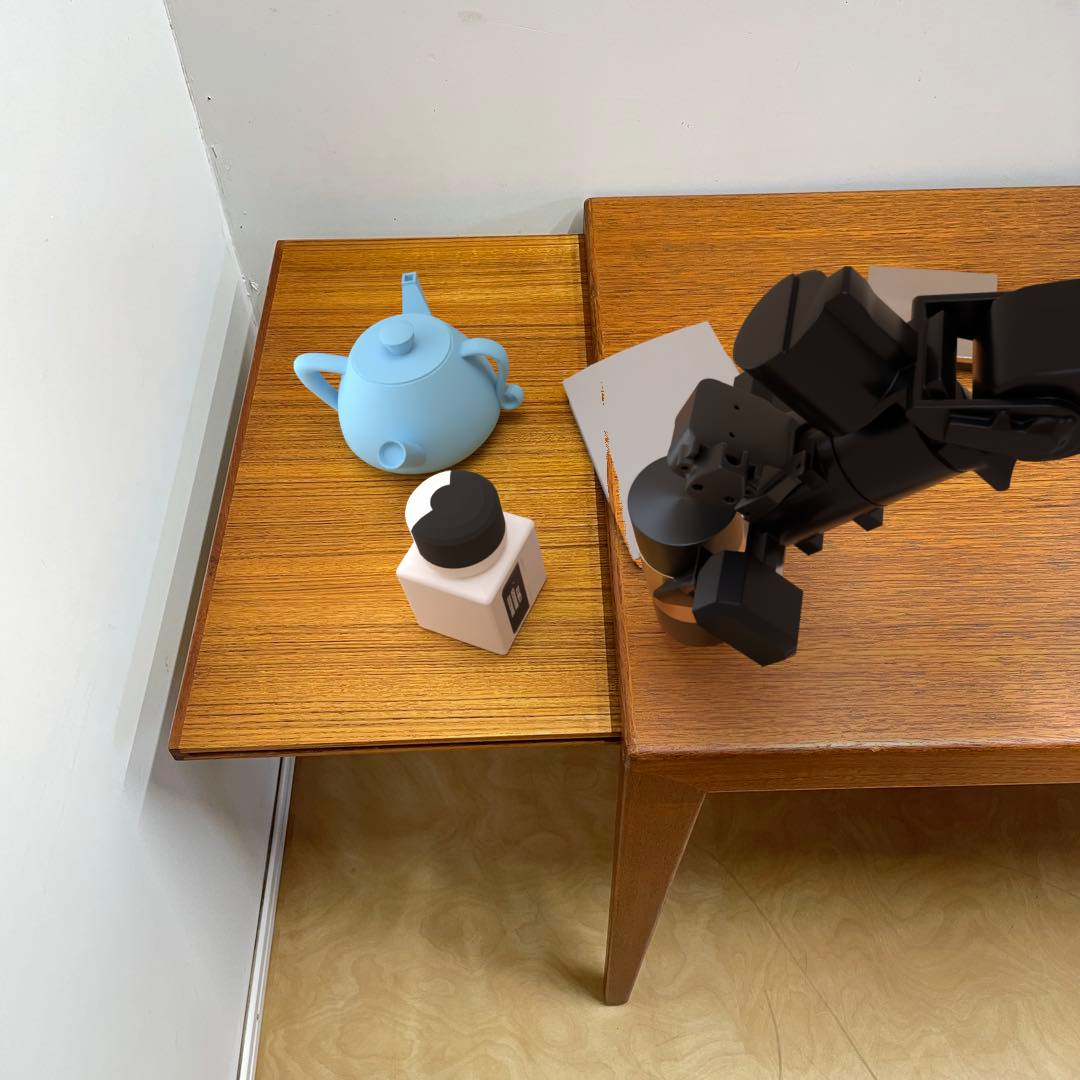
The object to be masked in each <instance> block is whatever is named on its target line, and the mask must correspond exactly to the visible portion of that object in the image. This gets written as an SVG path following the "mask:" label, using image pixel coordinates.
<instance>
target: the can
mask: <svg viewBox="0 0 1080 1080" xmlns="http://www.w3.org/2000/svg"><path fill="white" fill-rule="evenodd" d="M685 486H686V478H683V477H681V476H679V475H677V474H675V473H674V472H673V471H672V470H671V469H670V467H669V466H668V463H667V456H664V457H662V458H659V459H657V460H655V461H654V462H652V463H650V464H649V465H648V466H646V467H645V468H644V469H643V470H642V471H641V472H640V473H639V474H638V475H637V477H636V478H635V480H634V481H633V483H632V485H631V487H630V490H629V493H628V499H627V506H628V512H629V516H630V520H631V523H632V527H633V531H634V534H635V538H636V545H637V548H638V552H639V556H640V559H641V563H642V567H643V570H642V571H643V574H644V578H645V581H646V585H647V588H648V592H649V595H650V598H651V600H652V604H653V608H654V611H655V616H656V619H657V622H658V624H659V626H660V627H661V629H662V630H663V631H664V632H665V634H666V635H667V636H669V637H670V639H672V640H673V641H675V642H677V643H679V644H682V645H684V646H688V647H693V648H711V647H715V646H719V645H721V644H724V643H725V642H723V641H722V640H720V639H719V638H717V637H716V636H714V635H713V634H711V633H709V632H708V631H706V630H705V629H703V628H702V627H700V626H699V625H697V622H696V620H695V618H694V616H693V613H692V608H691V607H684V606H677V605H671V604H665V603H662V602H661V601H659V600H658V599H656V598H655V597H653V593H654V590H655V589H657V588H658V587H660V586H661V585H662V584H664V583H665V582H667V581H669V580H671V579H672V578H674V577H676V576H678V575H680V574H682V573H684V572H686V571H687V570H689V569H691V568H693V567H695V564H696V559H697V553H698V548H699V546H700V545H702V546H703V547H705V548H706V549H707V550H709V551H710V552H712V553H713V554H716V553H719V552H721V551H723V550H731V551H740V552H745V537H744V527H743V521H742V516H741V514H740V513H739V512H737V511H736V510H735V507H734V508H731V509H721V508H718V507H716V506H713V505H711V504H708V503H706V502H703V501H700V500H698V499H695V498H693V497H691V496H689V495H688V494H687V492H686V490H685Z"/></svg>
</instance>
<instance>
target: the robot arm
mask: <svg viewBox="0 0 1080 1080" xmlns="http://www.w3.org/2000/svg"><path fill="white" fill-rule="evenodd" d="M957 338H960V339H965V340H970V341H973V352H972V371H971V373H972V374H971V383H972V384H971V385H972V386H971V391H970V390H969V389H968V388H966V387H965V385H963V384H962V383H961V381H959V380H958V379H957V377H958V370H957ZM732 360H733V362H734V364H735V366H736V367H738V368H740V370H742V372H741V373H740V374H739V375H738V376H736V377H735V378H734V384H733V386H731V385H728V384H726V383H723V382H721V381H719V380H716V379H712V378H706V379H703V380H701V381H700V382H699V383H698V385H697V386H696V388H695V389H694V391H693V392H692V394H691V395H690V397H689V398H688V400H687V401H686V403H685V404H684V406H683V407H682V409H681V410H680V411H679V413H678V414H677V416H676V419H675V423H674V424H675V427H674V431H673V436H672V440H671V445H670V448H669V450H668V454H667V463H668V466H669V467H670V469H671V470H672V471H673V472H674V473H675V474H677V475H679V476H681V477H683V478H686V486H685V490H686V492H687V494H688V495H689V496H691V497H693V498H695V499H698V500H700V501H703V502H706V503H708V504H711V505H713V506H716V507H718V508H721V509H731V508H734V507H735V510H736V511H737V512H739V513H740V514H741V516H742V518H743V519H744V520H745V521H746V522H748V523H749V527H748V533H747V540H746V546H745V552H740V551H731V550H723V551H721V552H719V553H716V554H713V553H712V552H710V551H709V550H707V549H706V548H705V547H703V546H702V545H700V546H699V548H698V553H697V559H696V564H695V567H693V568H691V569H689V570H687V571H686V572H684V573H682V574H680V575H678V576H676V577H674V578H672V579H671V580H669V581H667V582H665V583H664V584H662V585H661V586H660V587H658V588H657V589H655V590H654V593H653V597H655V598H656V599H658V600H659V601H661V602H662V603H665V604H671V605H677V606H684V607H691V608H692V613H693V616H694V618H695V620H696V622H697V625H699V626H700V627H702V628H703V629H705V630H706V631H708V632H709V633H711V634H713V635H714V636H716V637H717V638H719V639H720V640H722V641H723V642H724V643H725V644H726V645H728V646H730V647H731V648H733V649H734V650H736V651H737V652H738V653H740V654H742V655H744V656H745V657H746V658H748V659H750V660H751V661H753V662H754V663H756V664H757V665H759V666H760V667H762V668H764V667H768V666H770V665H774V664H778V663H779V662H783V661H786V660H788V659H791V658H792V657H794V656H796V655H797V650H798V644H799V634H800V625H801V617H802V608H803V599H804V590H803V589H801V588H800V587H799V586H797V585H795V584H794V583H793V582H791V581H790V580H788V579H787V578H786V577H784V571H785V563H786V555H787V554H786V553H787V547H790V546H792V545H793V546H794V547H795V548H797V549H798V550H800V551H801V552H802V553H803V554H805V555H806V556H808V557H810V556H813V555H814V554H816V553H819V552H821V551H823V546H824V536H825V533H827V532H830V531H831V530H834V529H836V528H839V527H842V526H843V525H845V524H849V523H851V522H852V521H853V522H854V523H855V524H856V525H858V526H859V527H860V528H862V529H863V530H864V531H865V532H866V533H867V532H870V531H872V530H875V529H878V528H880V527H882V526H884V512H885V511H884V509H885V507H888V506H890V505H892V504H894V503H897V502H900V501H902V500H904V499H907V498H909V497H911V496H914V495H916V494H919V493H920V492H923V491H925V490H928V489H930V488H933V487H934V486H937V485H939V484H942V483H944V482H947V481H949V480H951V479H954V478H956V477H958V476H960V475H963V474H965V473H968V472H970V471H971V472H973V473H975V474H976V475H977V476H978V477H979V478H981V479H982V480H983V481H984V482H985V483H986V484H988V485H989V486H990V487H991V488H992V489H993V490H994V491H996V492H1000V493H1001V492H1002V493H1003V492H1006V491H1008V490H1009V489H1010V488H1011V481H1012V476H1013V472H1014V469H1015V466H1016V464H1017V461H1020V462H1028V463H1042V462H1054V461H1059V460H1063V459H1068V458H1071V457H1075V456H1078V455H1080V277H1078V278H1072V279H1065V280H1057V281H1050V282H1043V283H1035V284H1031V285H1027V286H1022V287H1019V288H1017V289H1014V290H1005V291H1004V290H1003V291H997V292H980V293H960V294H940V295H920V296H917V297H915V298H914V299H913V300H912V309H911V320H910V321H908V322H907V323H906V322H905V321H904V320H903V319H902V318H901V317H900V316H898V315H897V314H896V313H895V312H894V311H893V310H892V309H891V308H890V307H889V306H888V305H887V304H885V303H884V302H883V301H882V300H881V299H880V298H879V297H878V296H877V295H876V294H875V293H874V292H873V290H872V288H871V287H870V285H869V283H868V282H867V279H866V278H864V277H863V276H862V274H860V273H859V272H858V271H857V270H856V269H855V268H854V267H853V266H851V265H844V266H842V267H840V269H838V270H837V271H835V272H833V273H832V274H830V275H829V276H828V275H827V274H825V272H823V270H819V269H809V270H804V271H802V272H800V273H798V274H795V273H793V272H791V273H789V274H788V275H787V276H785V277H783V278H782V279H780V281H778V282H777V283H776V284H774V285H773V286H772V287H771V288H769V290H768V291H767V292H765V294H764V295H762V297H760V299H759V300H758V301H757V302H756V304H755V305H754V306H753V307H752V308H751V310H750V311H749V313H748V315H747V316H746V317H745V319H744V320H743V322H742V323H741V325H740V327H739V330H738V332H737V334H736V337H735V340H734V342H733V346H732Z"/></svg>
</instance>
